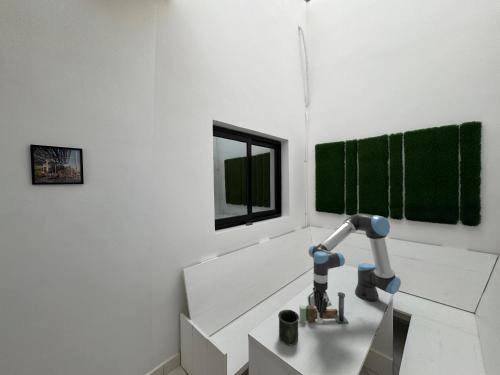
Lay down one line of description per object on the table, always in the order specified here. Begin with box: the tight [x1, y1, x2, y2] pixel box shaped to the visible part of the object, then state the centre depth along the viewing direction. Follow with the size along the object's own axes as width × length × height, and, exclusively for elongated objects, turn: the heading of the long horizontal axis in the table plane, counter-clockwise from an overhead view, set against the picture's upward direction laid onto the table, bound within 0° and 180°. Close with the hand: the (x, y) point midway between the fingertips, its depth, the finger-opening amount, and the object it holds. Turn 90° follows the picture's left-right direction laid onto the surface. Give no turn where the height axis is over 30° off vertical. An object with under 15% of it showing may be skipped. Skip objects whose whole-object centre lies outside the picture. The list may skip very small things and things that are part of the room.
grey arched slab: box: [307, 291, 332, 309], centre depth 135 cm, size 17×5×10 cm, turn 118°
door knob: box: [335, 291, 350, 325], centre depth 120 cm, size 6×6×16 cm
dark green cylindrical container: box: [277, 309, 300, 346], centre depth 107 cm, size 11×15×12 cm
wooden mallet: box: [306, 304, 338, 324], centre depth 119 cm, size 18×4×8 cm, turn 92°
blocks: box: [299, 305, 307, 323], centre depth 121 cm, size 6×6×8 cm
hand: (320, 322), depth 111 cm, fingers closed
